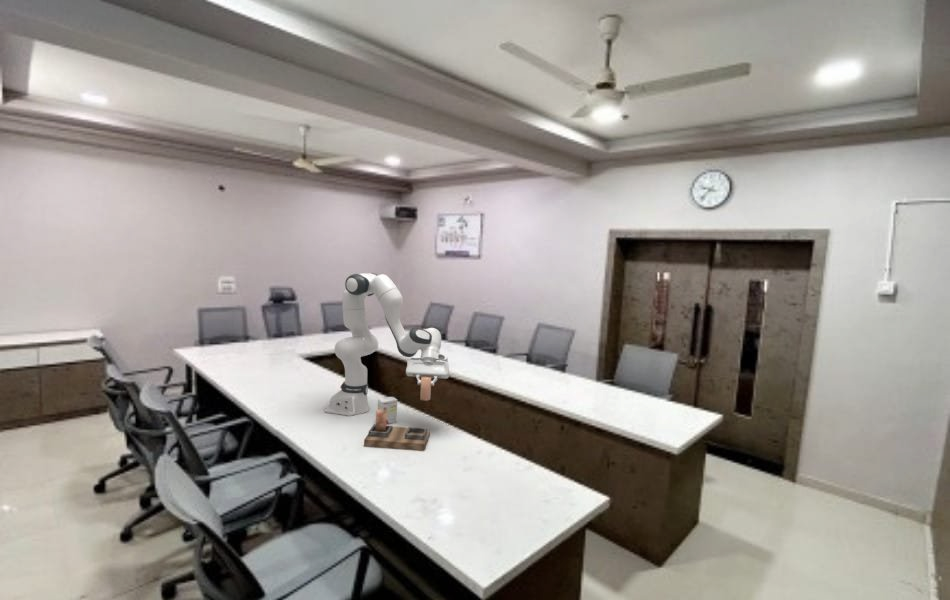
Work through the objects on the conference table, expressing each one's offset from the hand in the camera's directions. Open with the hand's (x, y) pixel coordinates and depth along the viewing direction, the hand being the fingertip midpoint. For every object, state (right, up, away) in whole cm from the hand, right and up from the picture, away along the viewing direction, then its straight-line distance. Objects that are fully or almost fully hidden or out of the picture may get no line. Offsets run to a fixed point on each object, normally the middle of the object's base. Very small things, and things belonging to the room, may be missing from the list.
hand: (425, 384), depth 207 cm
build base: (-12, -24, -7) cm, 27 cm away
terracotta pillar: (0, -7, +1) cm, 7 cm away
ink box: (-21, -21, +14) cm, 33 cm away
